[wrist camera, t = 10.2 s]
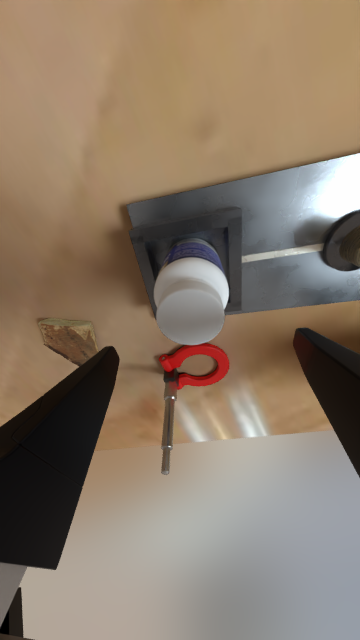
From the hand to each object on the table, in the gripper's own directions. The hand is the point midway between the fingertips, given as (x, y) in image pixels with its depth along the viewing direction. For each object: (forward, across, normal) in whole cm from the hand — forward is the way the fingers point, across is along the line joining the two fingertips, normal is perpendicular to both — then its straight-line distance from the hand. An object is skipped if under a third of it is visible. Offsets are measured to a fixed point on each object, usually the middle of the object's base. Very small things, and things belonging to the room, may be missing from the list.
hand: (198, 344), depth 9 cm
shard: (+13, +17, +9) cm, 23 cm away
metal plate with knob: (+12, -6, 0) cm, 14 cm away
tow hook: (+12, +2, +15) cm, 19 cm away
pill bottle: (+11, 0, 0) cm, 11 cm away
